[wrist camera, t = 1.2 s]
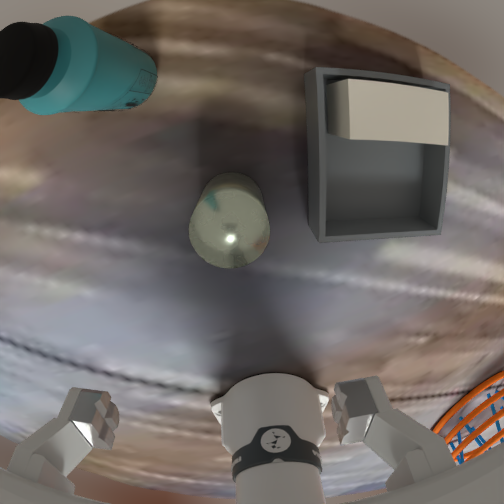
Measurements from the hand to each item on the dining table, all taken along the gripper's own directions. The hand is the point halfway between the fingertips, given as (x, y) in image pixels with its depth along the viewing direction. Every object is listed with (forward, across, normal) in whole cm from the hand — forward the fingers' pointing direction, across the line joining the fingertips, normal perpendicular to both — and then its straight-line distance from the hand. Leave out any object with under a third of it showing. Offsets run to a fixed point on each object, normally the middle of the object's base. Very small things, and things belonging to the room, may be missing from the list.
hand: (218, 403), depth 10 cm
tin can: (+25, 0, 0) cm, 25 cm away
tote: (+25, -15, -5) cm, 29 cm away
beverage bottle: (+25, +9, -14) cm, 30 cm away
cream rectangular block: (+24, -15, -9) cm, 30 cm away
